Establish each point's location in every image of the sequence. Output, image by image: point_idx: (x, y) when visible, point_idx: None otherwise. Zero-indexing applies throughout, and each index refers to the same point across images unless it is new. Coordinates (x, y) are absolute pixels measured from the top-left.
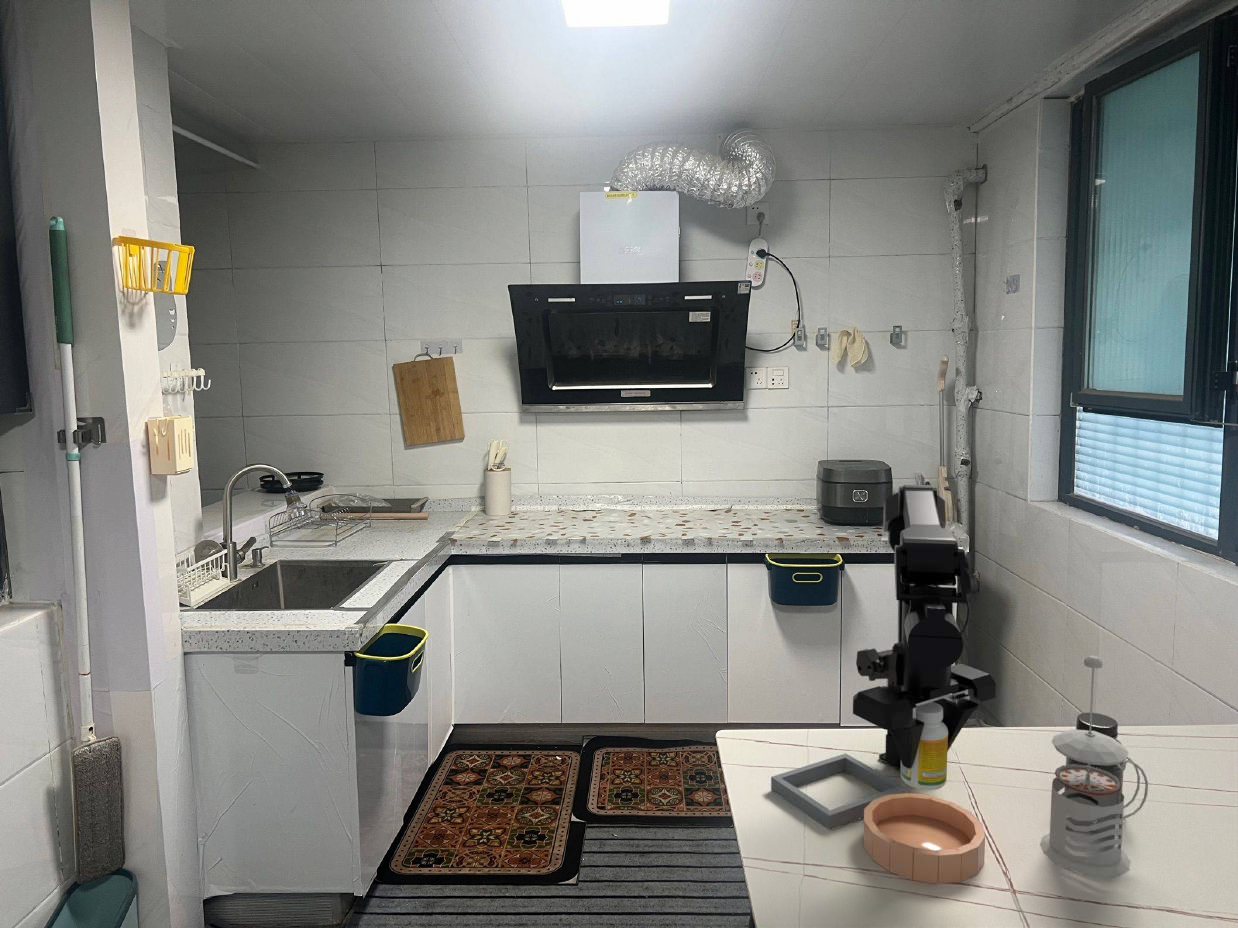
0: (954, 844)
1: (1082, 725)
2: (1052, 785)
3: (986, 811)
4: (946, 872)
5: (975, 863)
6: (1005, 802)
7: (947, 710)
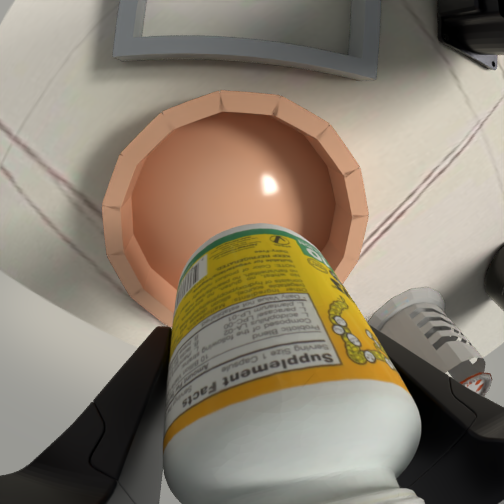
0: None
1: None
2: (449, 362)
3: (428, 200)
4: None
5: None
6: (464, 203)
7: (441, 501)
